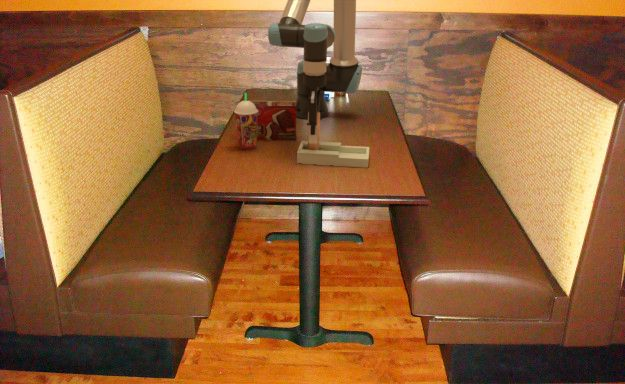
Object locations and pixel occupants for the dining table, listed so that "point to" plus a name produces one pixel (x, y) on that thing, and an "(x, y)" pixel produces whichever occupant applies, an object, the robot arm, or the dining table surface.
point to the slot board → (343, 160)
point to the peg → (316, 146)
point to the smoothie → (246, 124)
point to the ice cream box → (276, 120)
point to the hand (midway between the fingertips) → (313, 140)
